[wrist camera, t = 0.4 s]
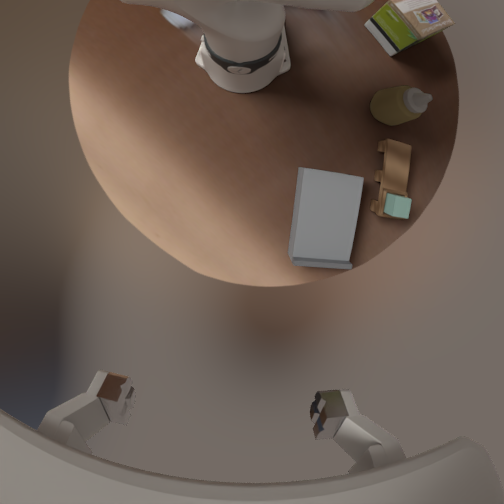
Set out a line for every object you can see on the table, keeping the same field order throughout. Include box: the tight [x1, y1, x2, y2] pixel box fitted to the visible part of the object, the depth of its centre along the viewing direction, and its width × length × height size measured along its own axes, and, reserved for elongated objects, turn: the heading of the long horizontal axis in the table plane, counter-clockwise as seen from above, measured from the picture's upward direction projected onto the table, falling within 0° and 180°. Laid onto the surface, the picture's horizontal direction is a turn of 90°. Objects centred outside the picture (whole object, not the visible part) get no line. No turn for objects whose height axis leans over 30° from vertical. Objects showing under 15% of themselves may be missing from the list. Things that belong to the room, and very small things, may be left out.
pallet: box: [370, 139, 412, 220], centre depth 50 cm, size 16×6×5 cm, turn 175°
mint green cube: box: [383, 193, 412, 219], centre depth 48 cm, size 4×4×4 cm
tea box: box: [365, 0, 455, 56], centre depth 33 cm, size 15×10×15 cm, turn 128°
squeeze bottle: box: [370, 86, 433, 126], centre depth 39 cm, size 8×8×18 cm
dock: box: [288, 167, 364, 269], centre depth 51 cm, size 18×12×7 cm, turn 175°
